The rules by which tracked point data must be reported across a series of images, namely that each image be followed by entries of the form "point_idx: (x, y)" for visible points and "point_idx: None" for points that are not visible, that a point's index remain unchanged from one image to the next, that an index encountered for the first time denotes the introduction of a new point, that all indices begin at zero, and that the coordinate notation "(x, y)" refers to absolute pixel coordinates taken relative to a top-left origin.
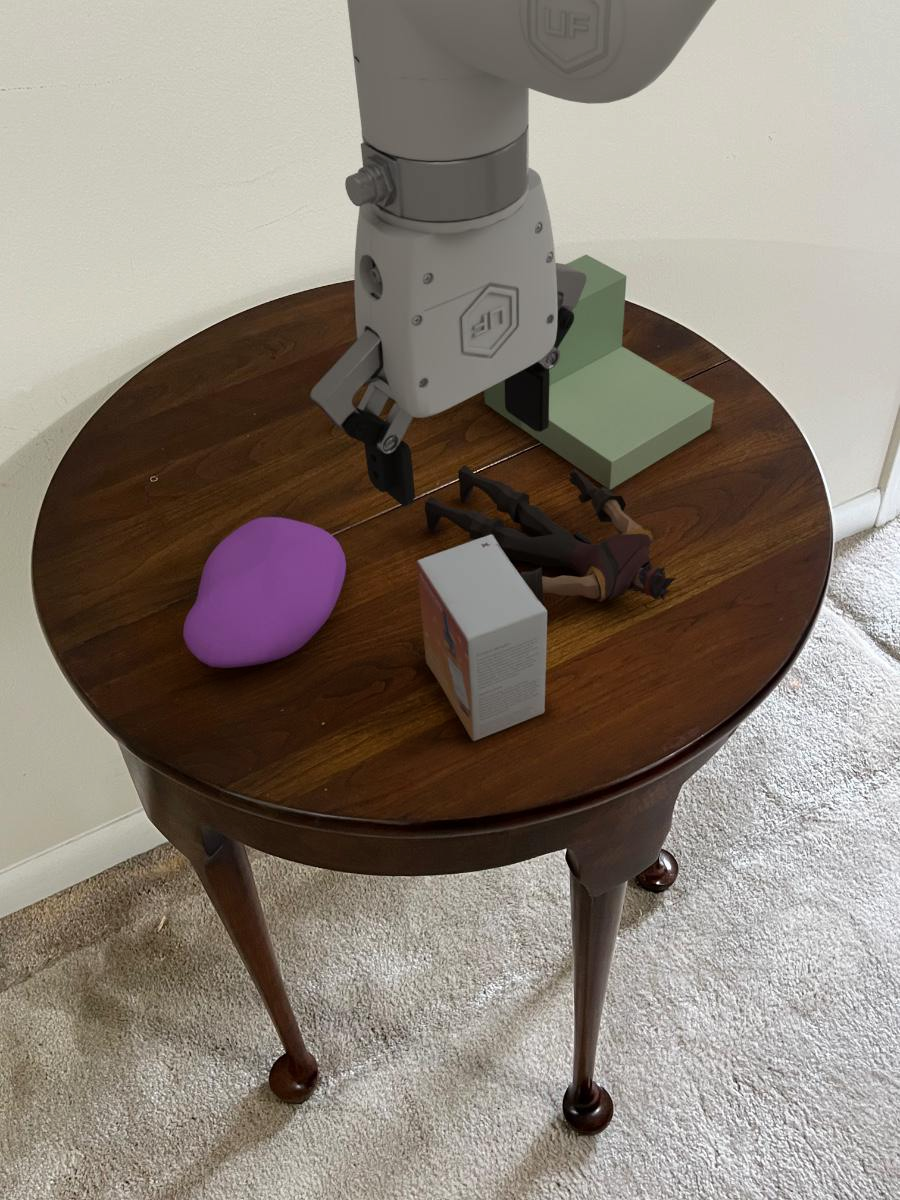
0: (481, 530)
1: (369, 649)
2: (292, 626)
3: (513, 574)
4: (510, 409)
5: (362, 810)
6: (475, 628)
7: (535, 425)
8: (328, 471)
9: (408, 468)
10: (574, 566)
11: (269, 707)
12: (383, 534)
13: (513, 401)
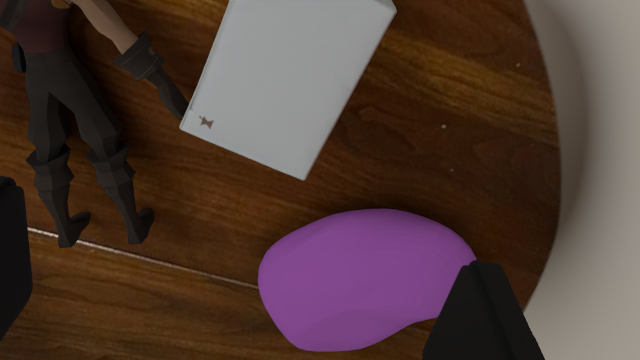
0: (119, 167)
1: (331, 154)
2: (387, 231)
3: (225, 43)
4: (25, 286)
5: (524, 11)
6: (369, 15)
7: (13, 202)
8: (169, 335)
9: (522, 355)
10: (64, 36)
11: (455, 182)
12: (193, 245)
13: (5, 301)
